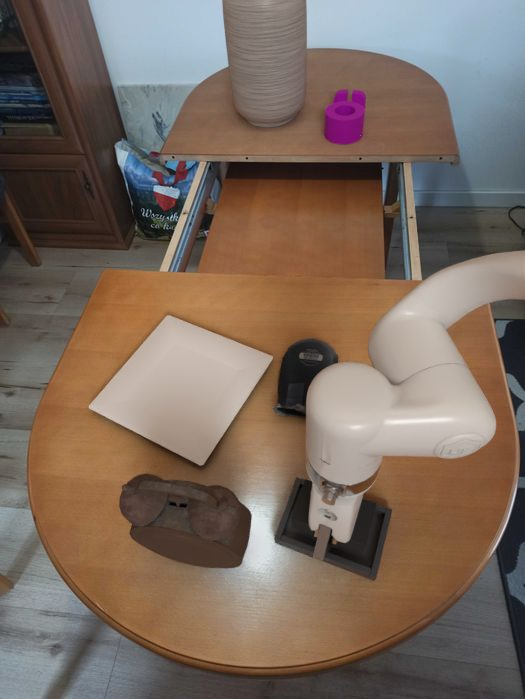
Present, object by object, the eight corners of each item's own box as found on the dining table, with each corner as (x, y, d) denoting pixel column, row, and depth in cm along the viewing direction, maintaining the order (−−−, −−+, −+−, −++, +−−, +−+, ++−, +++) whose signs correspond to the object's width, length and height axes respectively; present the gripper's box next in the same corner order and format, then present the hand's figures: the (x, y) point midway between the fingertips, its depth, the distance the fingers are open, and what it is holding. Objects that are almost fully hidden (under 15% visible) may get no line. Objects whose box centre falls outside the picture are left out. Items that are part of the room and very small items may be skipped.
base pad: (390, 514, 68) (392, 509, 66) (374, 581, 63) (376, 577, 61) (296, 482, 72) (296, 476, 70) (274, 543, 67) (274, 538, 65)
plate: (274, 363, 85) (274, 355, 84) (204, 471, 74) (201, 465, 72) (169, 320, 93) (167, 313, 91) (91, 413, 82) (86, 406, 80)
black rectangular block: (374, 512, 65) (377, 502, 62) (363, 553, 62) (366, 545, 59) (305, 489, 68) (305, 478, 65) (291, 527, 65) (291, 517, 62)
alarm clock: (260, 526, 68) (247, 463, 53) (248, 582, 64) (230, 532, 48) (161, 507, 71) (120, 442, 55) (143, 560, 67) (93, 505, 51)
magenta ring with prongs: (360, 145, 126) (362, 121, 121) (321, 143, 128) (322, 119, 123) (367, 114, 135) (369, 90, 130) (331, 112, 137) (332, 89, 132)
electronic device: (333, 426, 79) (341, 345, 86) (329, 412, 74) (337, 327, 81) (276, 422, 81) (288, 343, 88) (269, 408, 77) (282, 327, 84)
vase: (253, 93, 147) (242, -48, 121) (317, 103, 141) (320, -43, 114) (221, 126, 136) (202, -20, 110) (289, 138, 130) (285, -14, 104)
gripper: (357, 553, 44) (343, 597, 59) (398, 399, 54) (378, 469, 68) (278, 523, 46) (284, 573, 61) (331, 380, 56) (325, 453, 70)
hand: (333, 518), depth 64 cm, fingers closed on black rectangular block, 5 cm apart
